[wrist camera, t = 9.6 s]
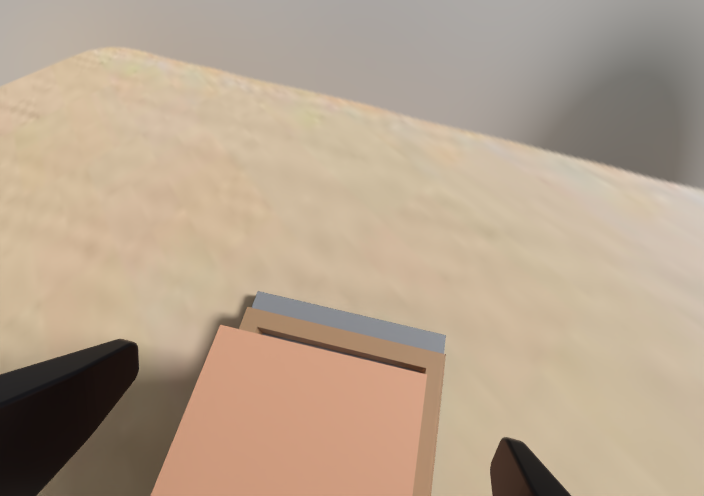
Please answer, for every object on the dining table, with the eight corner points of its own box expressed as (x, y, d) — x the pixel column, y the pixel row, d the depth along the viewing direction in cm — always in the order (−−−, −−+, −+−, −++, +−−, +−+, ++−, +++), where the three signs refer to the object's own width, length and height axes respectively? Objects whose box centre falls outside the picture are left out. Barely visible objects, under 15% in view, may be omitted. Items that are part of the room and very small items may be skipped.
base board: (405, 658, 12) (416, 698, 11) (155, 578, 13) (126, 603, 12) (441, 338, 18) (452, 329, 16) (261, 295, 19) (252, 283, 17)
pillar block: (362, 528, 14) (388, 693, 5) (244, 495, 14) (107, 602, 6) (385, 396, 16) (427, 374, 8) (282, 370, 16) (220, 324, 8)
